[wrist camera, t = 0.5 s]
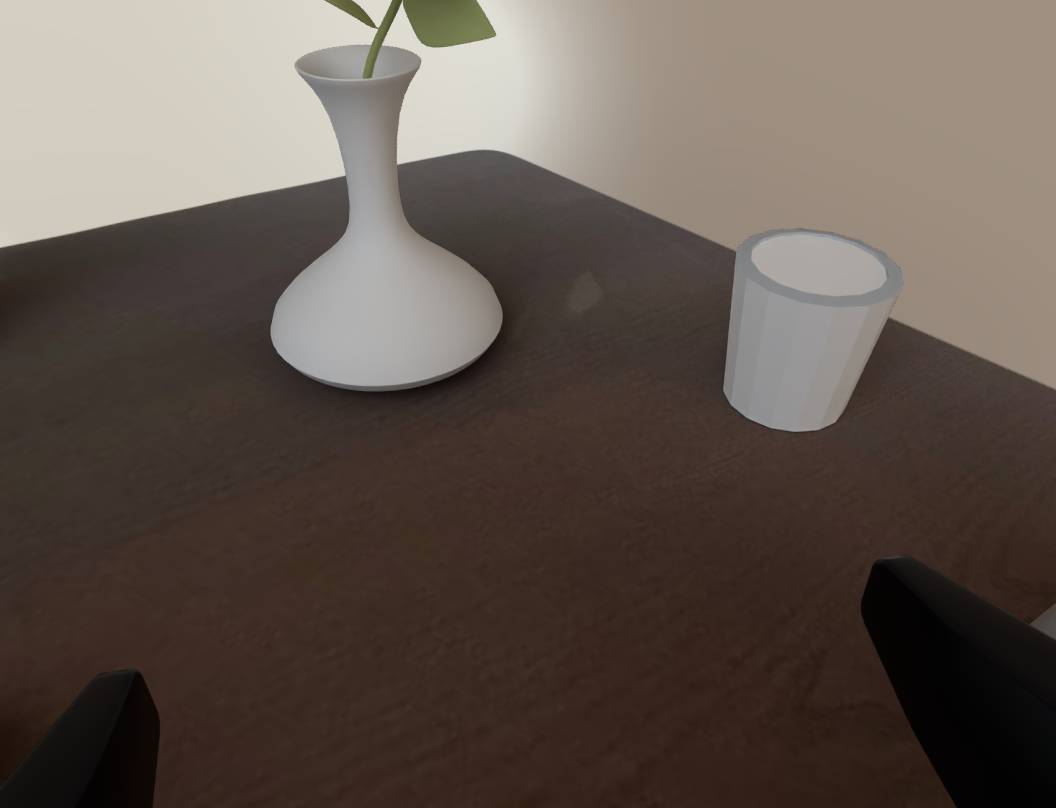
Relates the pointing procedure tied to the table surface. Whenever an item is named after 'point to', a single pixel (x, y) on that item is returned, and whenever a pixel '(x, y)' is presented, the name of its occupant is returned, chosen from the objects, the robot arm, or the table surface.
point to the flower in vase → (384, 230)
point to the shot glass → (804, 324)
